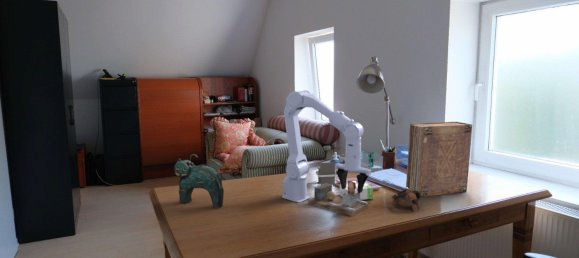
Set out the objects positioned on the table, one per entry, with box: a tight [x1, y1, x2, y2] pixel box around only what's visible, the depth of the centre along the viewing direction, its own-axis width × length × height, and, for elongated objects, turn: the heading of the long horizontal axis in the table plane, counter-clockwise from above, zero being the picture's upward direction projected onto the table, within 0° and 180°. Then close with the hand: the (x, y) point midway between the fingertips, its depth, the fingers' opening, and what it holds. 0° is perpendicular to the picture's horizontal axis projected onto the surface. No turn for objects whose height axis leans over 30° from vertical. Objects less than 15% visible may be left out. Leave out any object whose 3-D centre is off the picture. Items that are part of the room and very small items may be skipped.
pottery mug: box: [391, 188, 422, 213], centre depth 148 cm, size 12×10×8 cm
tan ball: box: [327, 190, 337, 200], centre depth 151 cm, size 4×4×4 cm
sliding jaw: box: [342, 179, 360, 208], centre depth 145 cm, size 3×8×9 cm, turn 140°
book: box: [405, 121, 473, 198], centre depth 166 cm, size 25×9×30 cm, turn 109°
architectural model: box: [315, 159, 338, 186], centre depth 177 cm, size 19×17×11 cm
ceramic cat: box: [173, 153, 225, 209], centre depth 148 cm, size 20×6×20 cm, turn 70°
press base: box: [307, 183, 369, 217], centre depth 149 cm, size 20×12×6 cm, turn 50°
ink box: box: [338, 182, 374, 201], centre depth 159 cm, size 9×5×12 cm
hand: (351, 190), depth 144 cm, fingers open, 6 cm apart
